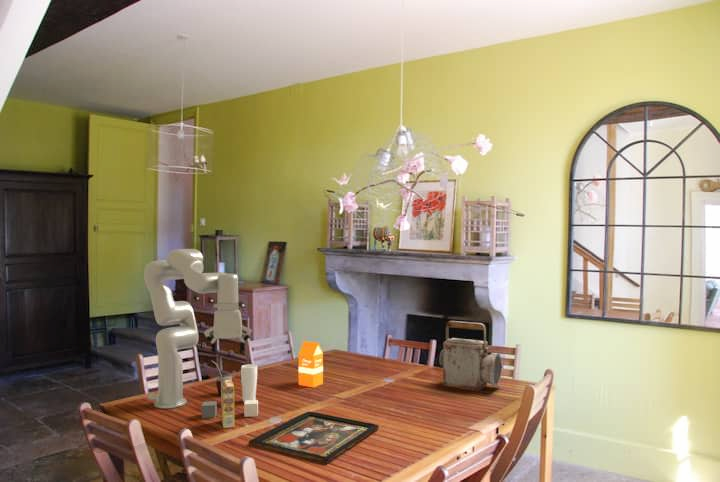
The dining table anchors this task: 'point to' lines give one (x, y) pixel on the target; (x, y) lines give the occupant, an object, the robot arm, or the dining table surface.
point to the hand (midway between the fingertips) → (228, 353)
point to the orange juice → (310, 364)
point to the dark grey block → (209, 409)
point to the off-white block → (250, 408)
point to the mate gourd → (221, 378)
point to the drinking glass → (249, 381)
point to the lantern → (469, 360)
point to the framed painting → (314, 436)
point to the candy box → (227, 403)
